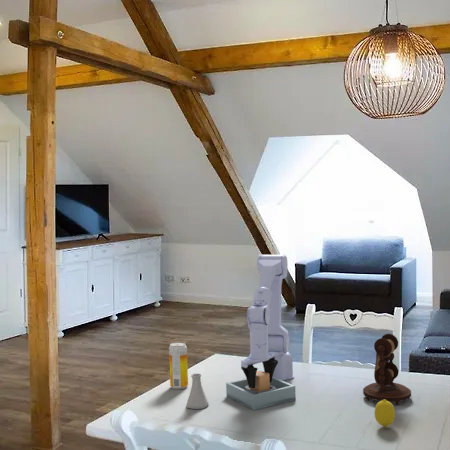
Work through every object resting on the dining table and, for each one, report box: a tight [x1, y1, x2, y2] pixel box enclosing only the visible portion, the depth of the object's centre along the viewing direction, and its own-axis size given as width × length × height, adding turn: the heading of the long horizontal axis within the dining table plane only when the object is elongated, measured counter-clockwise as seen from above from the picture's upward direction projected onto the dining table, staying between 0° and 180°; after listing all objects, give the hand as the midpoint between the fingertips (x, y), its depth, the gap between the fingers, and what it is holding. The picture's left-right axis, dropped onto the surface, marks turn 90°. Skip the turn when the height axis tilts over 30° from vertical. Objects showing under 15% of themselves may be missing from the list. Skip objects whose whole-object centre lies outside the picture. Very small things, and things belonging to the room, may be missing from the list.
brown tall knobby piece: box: [362, 333, 412, 406], centre depth 206 cm, size 15×15×20 cm
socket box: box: [225, 377, 297, 411], centre depth 210 cm, size 16×16×4 cm
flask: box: [185, 372, 209, 410], centre depth 205 cm, size 7×7×10 cm
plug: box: [251, 370, 270, 392], centre depth 210 cm, size 4×4×7 cm
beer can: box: [168, 341, 189, 390], centre depth 224 cm, size 6×6×15 cm
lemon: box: [374, 399, 396, 428], centre depth 182 cm, size 6×6×8 cm
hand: (260, 384), depth 210 cm, fingers open, 7 cm apart
